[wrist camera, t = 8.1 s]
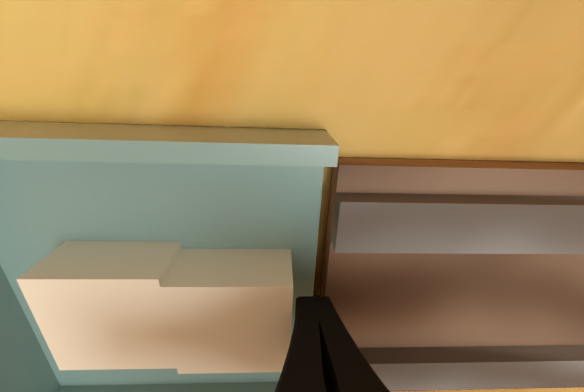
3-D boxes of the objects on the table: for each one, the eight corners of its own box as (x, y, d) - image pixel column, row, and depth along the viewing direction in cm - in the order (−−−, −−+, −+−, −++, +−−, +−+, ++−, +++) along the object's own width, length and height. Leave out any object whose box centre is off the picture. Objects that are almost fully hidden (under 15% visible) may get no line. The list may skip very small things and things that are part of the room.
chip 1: (193, 321, 12) (177, 368, 10) (95, 322, 12) (59, 370, 10) (181, 241, 11) (158, 279, 9) (66, 240, 10) (16, 279, 8)
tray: (304, 380, 15) (308, 434, 13) (57, 385, 14) (16, 443, 12) (325, 129, 10) (339, 145, 7) (-76, 118, 9) (-200, 132, 7)
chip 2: (288, 325, 13) (289, 371, 11) (194, 326, 13) (178, 373, 11) (291, 249, 11) (293, 286, 9) (182, 248, 11) (159, 287, 9)
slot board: (602, 364, 16) (641, 397, 14) (312, 369, 15) (316, 405, 13) (751, 166, 11) (836, 182, 9) (333, 157, 10) (344, 172, 8)
